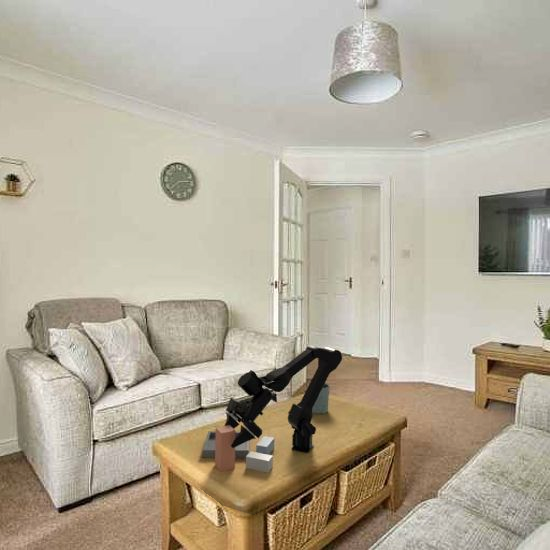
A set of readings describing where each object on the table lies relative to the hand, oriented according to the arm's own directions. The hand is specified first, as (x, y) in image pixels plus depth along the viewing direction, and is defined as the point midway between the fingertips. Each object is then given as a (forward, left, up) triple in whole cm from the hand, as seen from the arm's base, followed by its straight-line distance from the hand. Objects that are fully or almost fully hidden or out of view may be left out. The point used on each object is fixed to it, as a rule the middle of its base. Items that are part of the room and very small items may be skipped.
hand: (226, 441), depth 134 cm
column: (0, 0, -8) cm, 8 cm away
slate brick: (-7, -15, -8) cm, 19 cm away
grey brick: (-10, -4, -8) cm, 14 cm away
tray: (+7, -12, -8) cm, 16 cm away
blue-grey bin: (-11, -64, -8) cm, 66 cm away
